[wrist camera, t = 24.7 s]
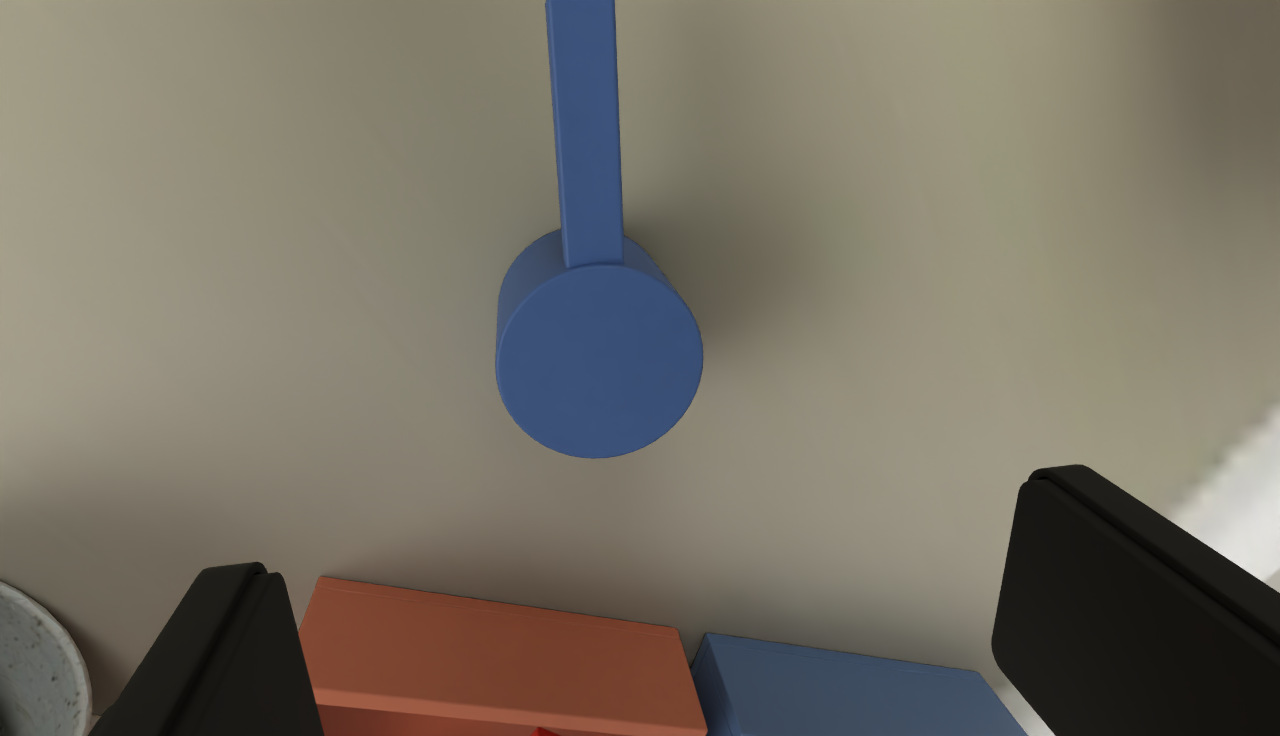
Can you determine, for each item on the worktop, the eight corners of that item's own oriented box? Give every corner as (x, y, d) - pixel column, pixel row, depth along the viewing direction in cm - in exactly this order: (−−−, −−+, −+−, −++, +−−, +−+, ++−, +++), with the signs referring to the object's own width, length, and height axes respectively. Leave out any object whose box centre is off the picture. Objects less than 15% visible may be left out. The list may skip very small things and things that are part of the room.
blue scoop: (667, 379, 20) (703, 448, 16) (507, 394, 19) (506, 470, 16) (662, 8, 16) (706, -10, 13) (464, 12, 16) (451, -5, 12)
